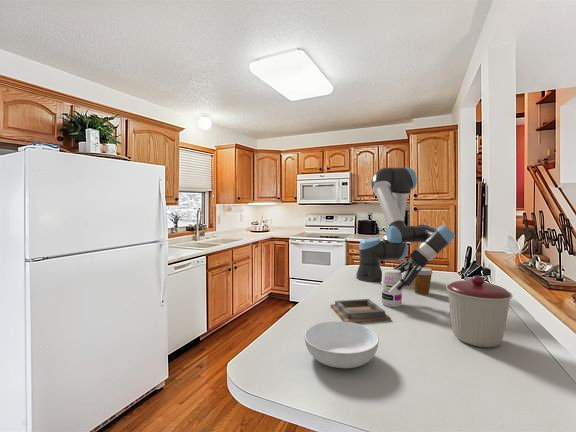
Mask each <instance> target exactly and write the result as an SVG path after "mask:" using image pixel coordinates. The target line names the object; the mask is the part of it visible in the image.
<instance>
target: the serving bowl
mask: <svg viewBox="0 0 576 432" xmlns="http://www.w3.org/2000/svg"><path fill="white" fill-rule="evenodd" d="M303 337H304V342H305V346H306V349H307V351H308V352H309V354H310V355H311V356H312V358H314V359H315V360H316V361H318V362H319V363H321V364H323V365H326V366H328V367H332V368H339V369H352V368H358V367H361V366H363V365H366V364H367V363H369V361H371V360H372V359H373V358H374V356H375V355H376V353H377V351H378V347H379V342H380V341H379V340H380V339H379V338H380V337H378V335H377V333H376V332H375V331H374V330H373V329H371V328H369V327H367V326H365V325H362V324H360V323H351V322H344V321H343V320H336V321H335V320H330V321H324V322H319V323H316V324H314V325H311V326H310V327H308V328H306V330H305V332H304V335H303Z"/></svg>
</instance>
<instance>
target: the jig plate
mask: <svg viewBox="0 0 576 432" xmlns="http://www.w3.org/2000/svg"><path fill="white" fill-rule="evenodd" d="M330 308H331V309H332V310H333V311H334V313H335V314H336V315H337V316H338V317H339V318H340V319H341V321H343V322H351V323H356V324H360V323H372V322H373V323H374V322H384V321H385V322H386V321H387V322H388V321H391V320H392V318H391V317H390V316H389V315H388V314H387V313H386V311H385V310H384V309H383V308H382V307H380V306H379V305H377V304H376V303H375V302H373V301H372V300H370V299H369V298H364V299H362V298H361V299H345V300H344V299H343V300H334V303H333V304H330Z"/></svg>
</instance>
